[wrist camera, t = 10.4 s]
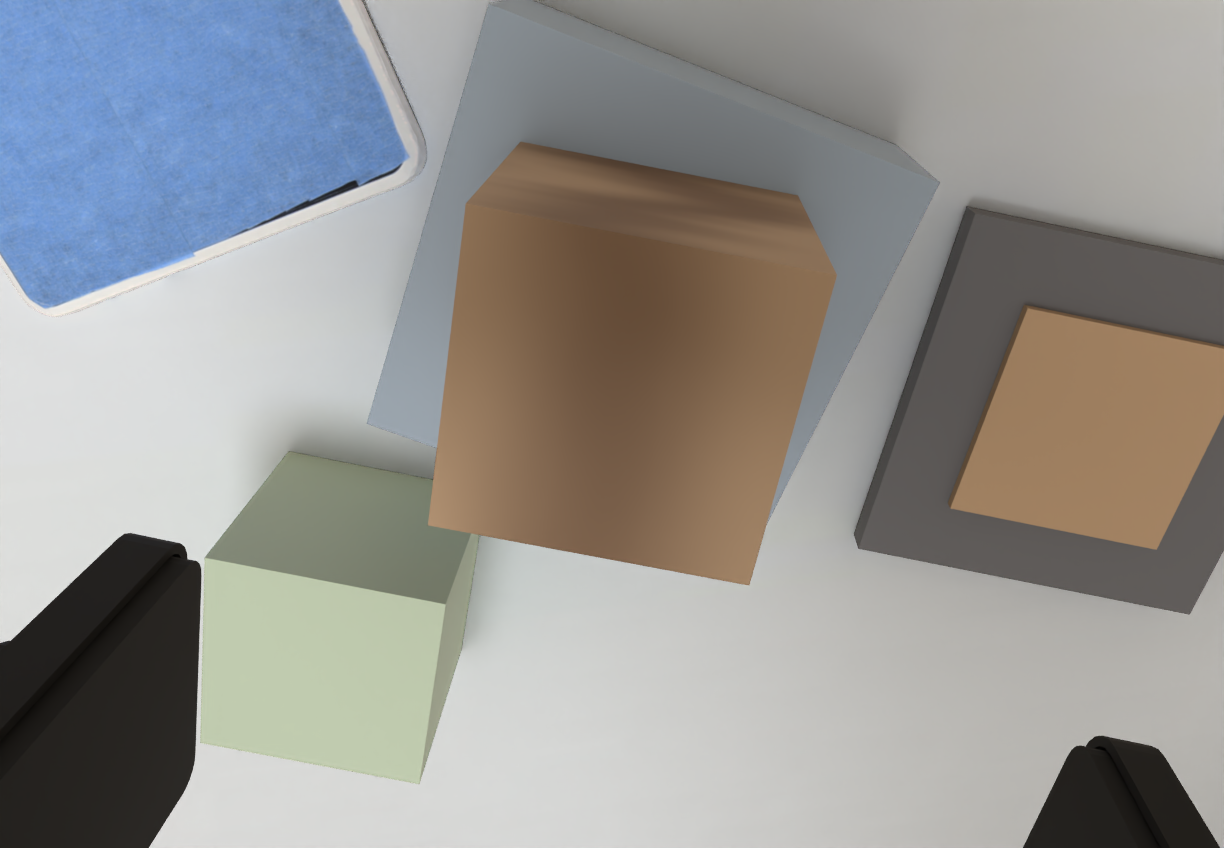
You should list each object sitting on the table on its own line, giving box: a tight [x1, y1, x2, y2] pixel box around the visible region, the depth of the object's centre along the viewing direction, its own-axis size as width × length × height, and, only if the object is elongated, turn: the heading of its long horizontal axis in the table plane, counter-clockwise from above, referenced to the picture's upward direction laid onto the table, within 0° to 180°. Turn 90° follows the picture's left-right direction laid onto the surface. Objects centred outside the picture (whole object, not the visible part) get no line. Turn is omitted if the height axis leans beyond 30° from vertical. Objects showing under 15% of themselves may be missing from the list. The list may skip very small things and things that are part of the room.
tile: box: [854, 207, 1224, 614], centre depth 28 cm, size 10×10×1 cm
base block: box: [367, 0, 940, 525], centre depth 25 cm, size 10×10×5 cm
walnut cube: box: [428, 142, 837, 585], centre depth 20 cm, size 6×6×6 cm
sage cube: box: [200, 452, 480, 784], centre depth 29 cm, size 6×6×6 cm
